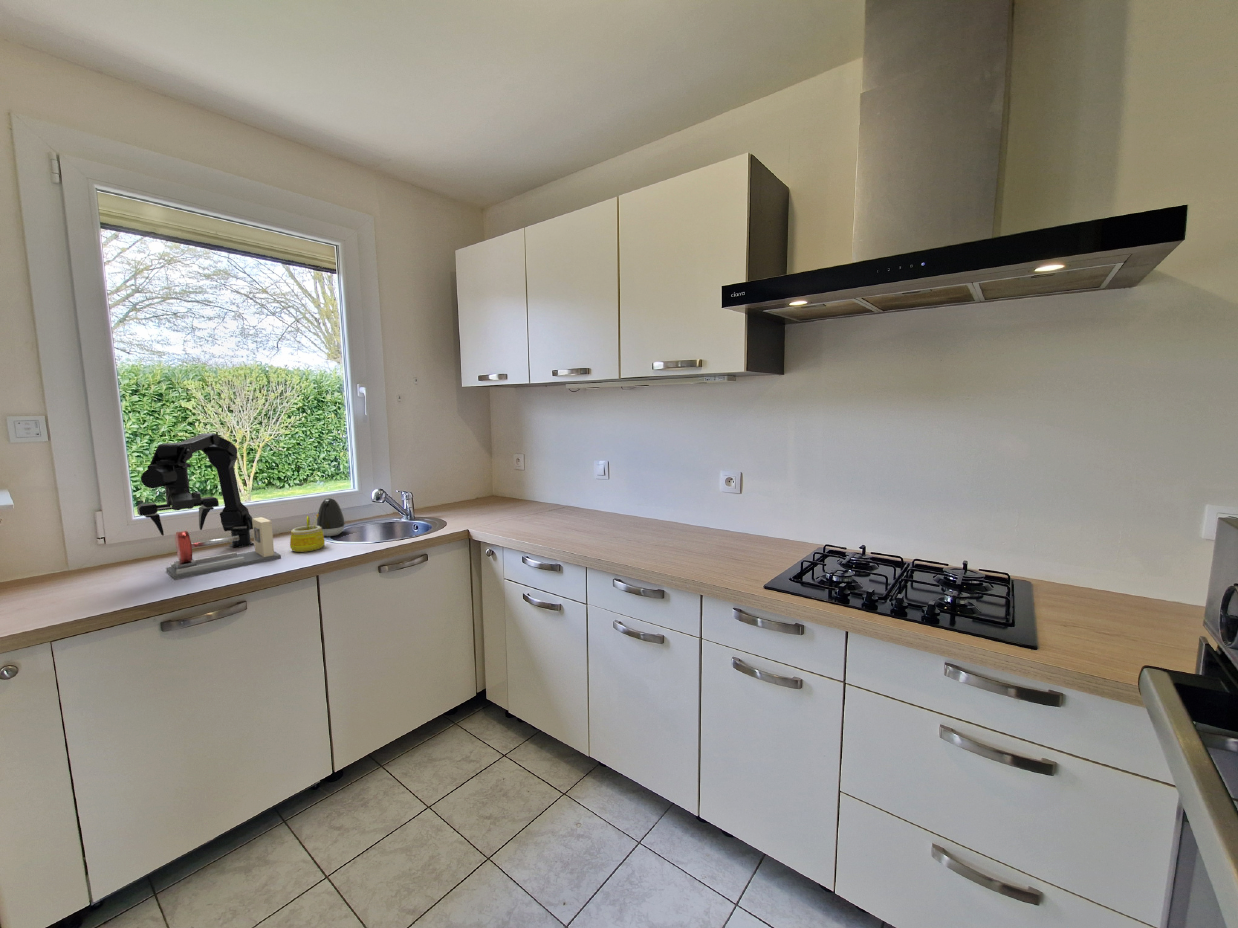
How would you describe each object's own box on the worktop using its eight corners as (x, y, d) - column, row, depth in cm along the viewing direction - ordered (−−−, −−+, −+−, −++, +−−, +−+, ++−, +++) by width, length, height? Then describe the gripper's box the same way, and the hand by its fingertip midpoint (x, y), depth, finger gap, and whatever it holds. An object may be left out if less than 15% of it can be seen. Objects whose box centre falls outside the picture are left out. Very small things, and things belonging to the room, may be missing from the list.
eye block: (166, 571, 160) (161, 530, 159) (269, 551, 181) (266, 515, 180) (174, 579, 152) (169, 537, 150) (280, 558, 173) (277, 520, 171)
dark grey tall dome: (313, 538, 199) (310, 501, 197) (321, 532, 209) (318, 496, 207) (341, 536, 201) (339, 499, 200) (348, 530, 211) (345, 495, 210)
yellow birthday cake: (309, 554, 178) (306, 521, 176) (283, 552, 180) (280, 520, 178) (336, 544, 190) (333, 513, 189) (311, 543, 192) (309, 512, 191)
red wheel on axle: (173, 566, 160) (169, 530, 159) (236, 554, 173) (233, 521, 171) (179, 572, 154) (175, 535, 152) (244, 559, 166) (241, 525, 165)
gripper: (139, 489, 144) (145, 542, 145) (220, 482, 158) (225, 530, 159) (134, 486, 151) (140, 536, 152) (212, 479, 165) (216, 525, 167)
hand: (182, 532), depth 157 cm, fingers open, 9 cm apart
